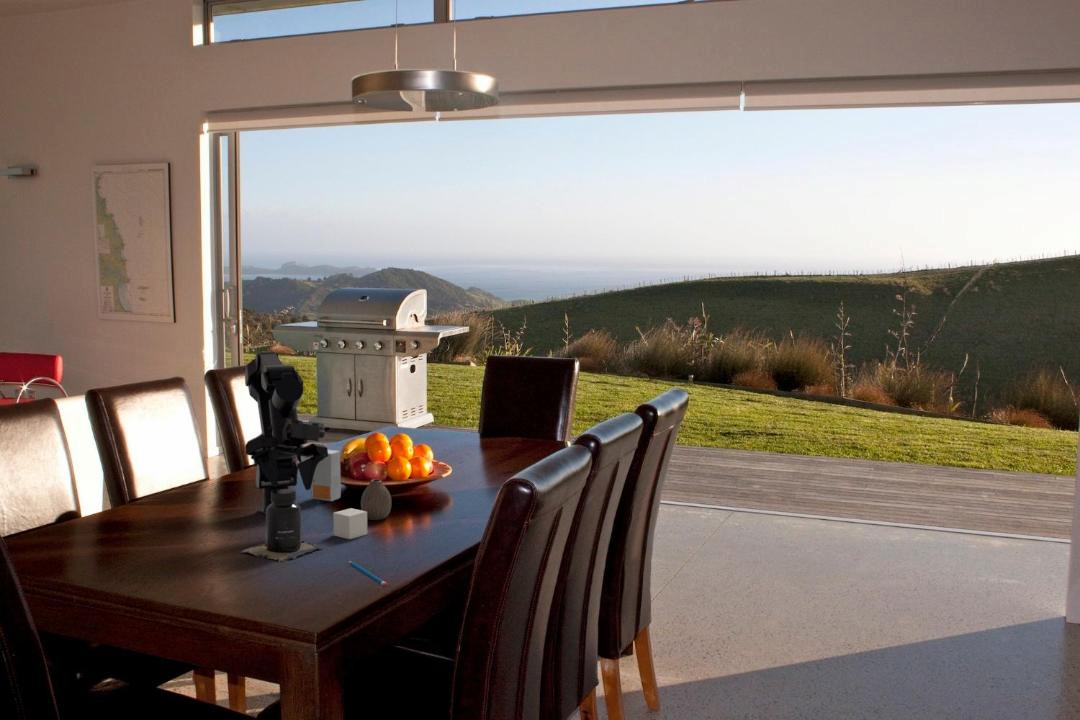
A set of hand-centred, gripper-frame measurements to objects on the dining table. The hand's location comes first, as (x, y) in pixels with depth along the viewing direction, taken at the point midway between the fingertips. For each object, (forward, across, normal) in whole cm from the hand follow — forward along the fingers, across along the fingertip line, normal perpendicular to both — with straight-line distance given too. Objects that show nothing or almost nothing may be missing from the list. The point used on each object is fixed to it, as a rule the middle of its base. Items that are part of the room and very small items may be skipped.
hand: (292, 487), depth 199 cm
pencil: (+25, -6, -23) cm, 34 cm away
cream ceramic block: (+11, +10, -6) cm, 16 cm away
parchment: (+14, -5, -1) cm, 15 cm away
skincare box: (-5, +28, +18) cm, 34 cm away
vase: (+6, +23, -2) cm, 23 cm away
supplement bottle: (+14, -5, -1) cm, 15 cm away
